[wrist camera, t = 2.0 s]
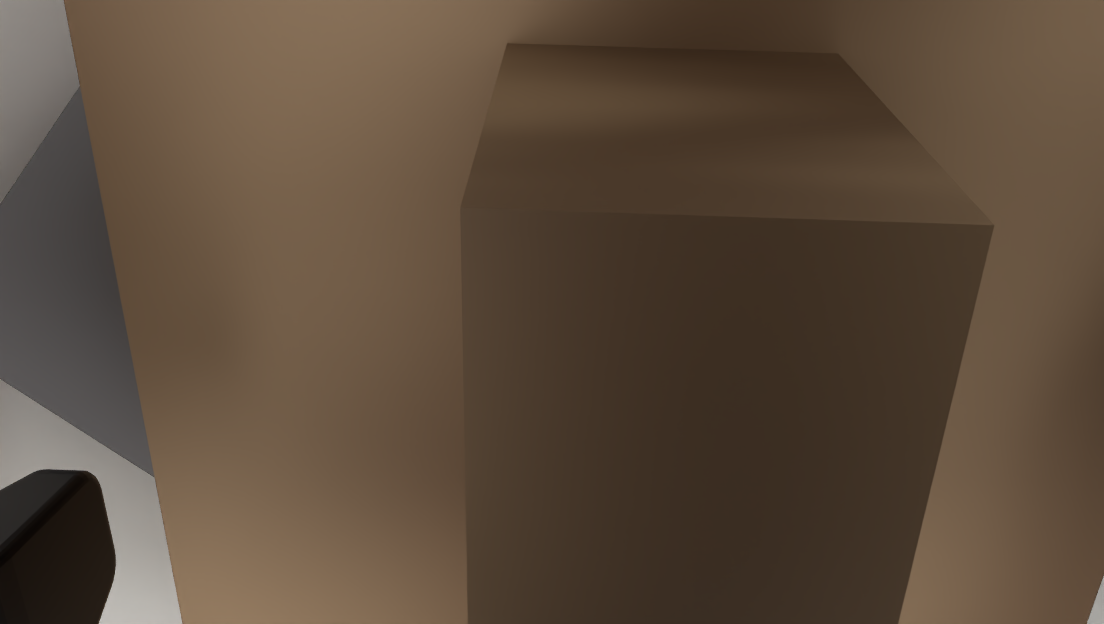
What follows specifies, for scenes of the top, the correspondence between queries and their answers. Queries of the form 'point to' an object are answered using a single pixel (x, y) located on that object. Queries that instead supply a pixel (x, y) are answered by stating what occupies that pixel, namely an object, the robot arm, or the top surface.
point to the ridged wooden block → (612, 305)
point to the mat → (67, 295)
